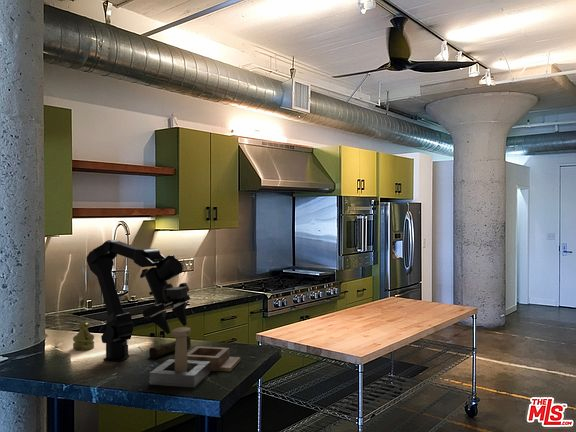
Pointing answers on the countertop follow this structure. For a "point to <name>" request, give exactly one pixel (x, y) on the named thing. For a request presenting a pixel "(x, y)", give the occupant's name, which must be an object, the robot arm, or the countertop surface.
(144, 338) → the countertop surface
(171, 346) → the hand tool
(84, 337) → the olive green tiered piece
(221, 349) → the tan piece
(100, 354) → the countertop surface
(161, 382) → the socket block
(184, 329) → the handle
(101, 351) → the countertop surface
